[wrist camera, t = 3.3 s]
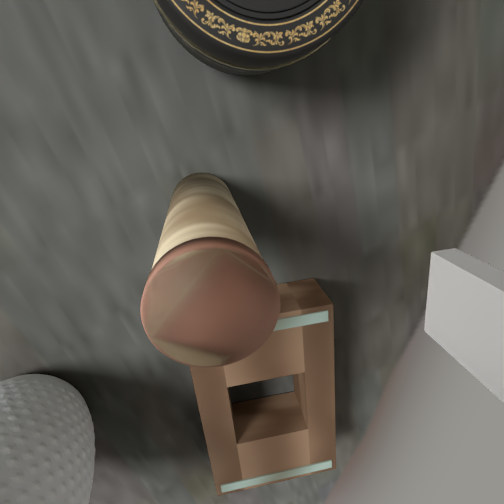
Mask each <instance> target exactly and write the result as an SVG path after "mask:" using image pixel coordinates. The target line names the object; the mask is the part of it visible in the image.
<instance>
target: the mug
mask: <svg viewBox="0 0 504 504" xmlns="http://www.w3.org/2000/svg"><path fill="white" fill-rule="evenodd" d="M94 442H95V434H94V427H93V422H92V417H91V415H90V412H89V409H88V407H87V404H86V402H85V400H84V398H83V397H82V395H81V394H80V393H79V391H78V390H77V389H76V388H74V387H73V386H72V385H71V384H69V383H68V382H66V381H64V380H62V379H60V378H57V377H54V376H50V375H43V374H26V375H20V376H16V377H12V378H9V379H6V380H4V381H1V382H0V504H88V503H89V496H90V493H91V487H92V485H93V473H94V466H95V463H94V458H95V451H96V450H95V445H94Z"/></svg>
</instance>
